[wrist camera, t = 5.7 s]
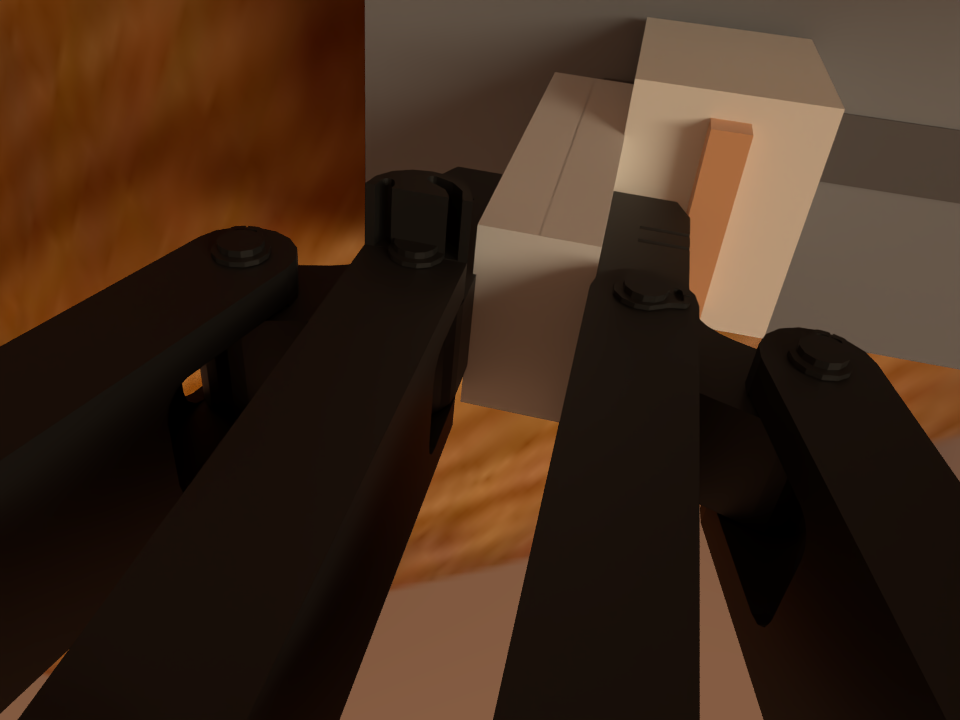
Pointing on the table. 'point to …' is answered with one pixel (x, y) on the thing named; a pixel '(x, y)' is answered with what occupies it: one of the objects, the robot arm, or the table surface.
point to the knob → (731, 155)
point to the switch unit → (614, 56)
